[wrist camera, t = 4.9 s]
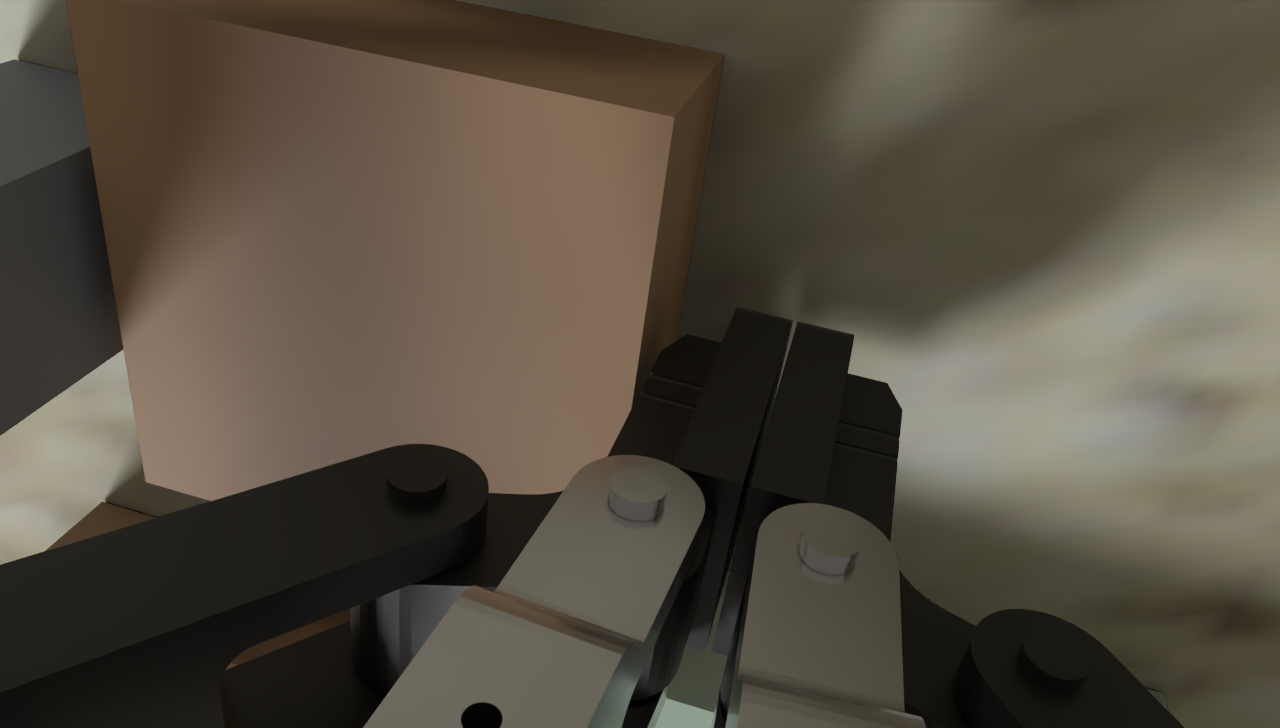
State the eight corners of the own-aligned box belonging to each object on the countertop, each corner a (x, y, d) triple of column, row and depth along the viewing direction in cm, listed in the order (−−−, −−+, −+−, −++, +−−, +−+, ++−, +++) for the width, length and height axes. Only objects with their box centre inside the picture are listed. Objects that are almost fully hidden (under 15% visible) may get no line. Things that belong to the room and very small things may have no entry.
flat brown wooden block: (730, 47, 13) (675, 117, 10) (654, 485, 16) (600, 615, 14) (225, -53, 14) (62, -13, 11) (261, 379, 18) (146, 482, 15)
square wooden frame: (441, 603, 19) (376, 709, 17) (434, 834, 22) (380, 944, 20) (102, 501, 20) (0, 589, 18) (149, 738, 23) (70, 833, 21)
